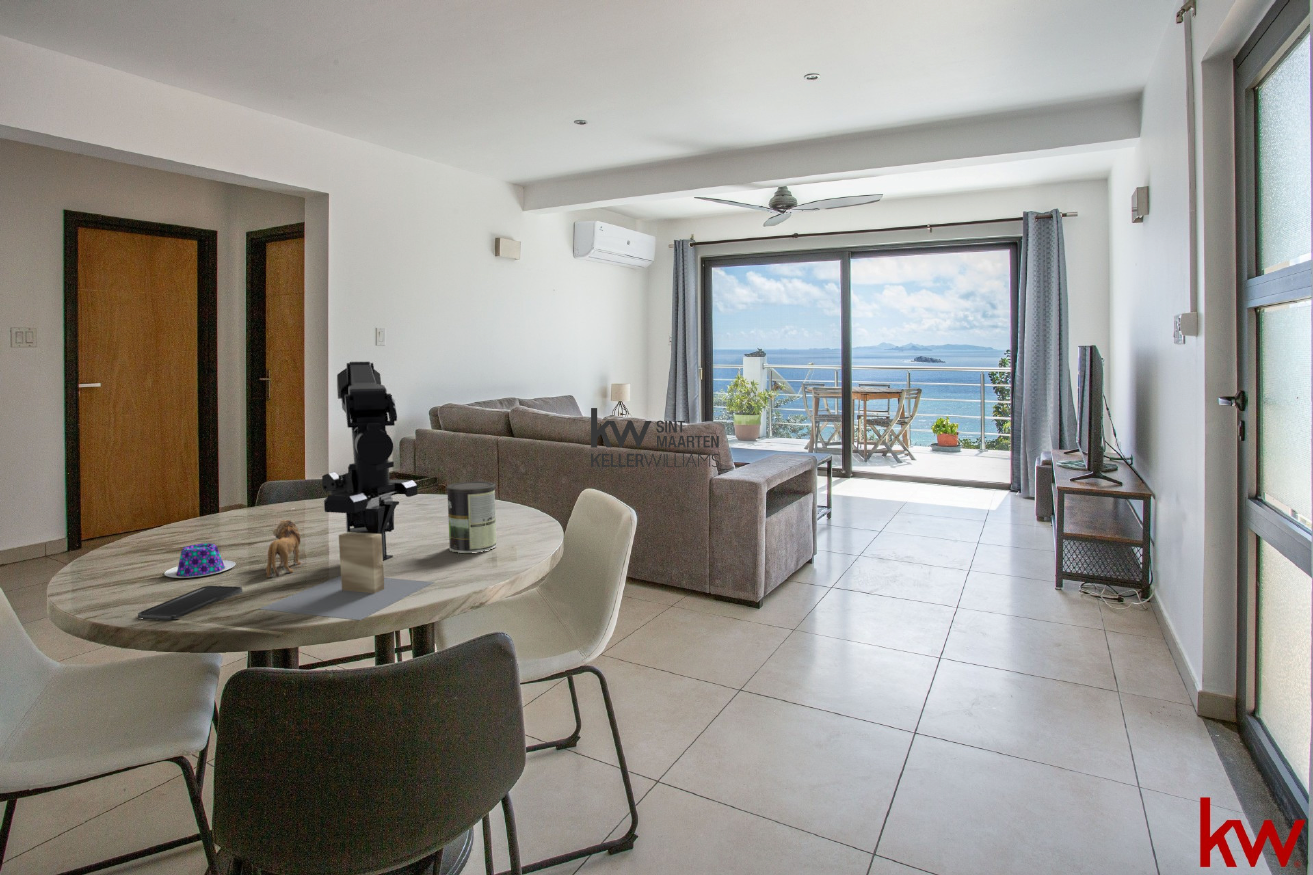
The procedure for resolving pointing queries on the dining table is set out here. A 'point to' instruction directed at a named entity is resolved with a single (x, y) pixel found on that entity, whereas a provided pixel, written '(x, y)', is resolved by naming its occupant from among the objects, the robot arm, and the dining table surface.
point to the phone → (189, 602)
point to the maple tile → (361, 562)
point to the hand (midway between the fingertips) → (375, 541)
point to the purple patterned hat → (199, 562)
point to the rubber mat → (346, 599)
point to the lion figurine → (284, 547)
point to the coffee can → (471, 516)
